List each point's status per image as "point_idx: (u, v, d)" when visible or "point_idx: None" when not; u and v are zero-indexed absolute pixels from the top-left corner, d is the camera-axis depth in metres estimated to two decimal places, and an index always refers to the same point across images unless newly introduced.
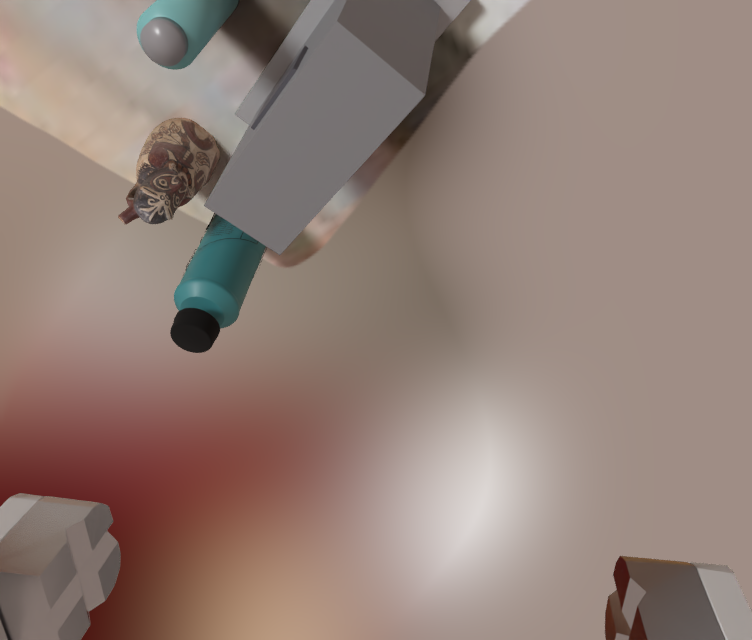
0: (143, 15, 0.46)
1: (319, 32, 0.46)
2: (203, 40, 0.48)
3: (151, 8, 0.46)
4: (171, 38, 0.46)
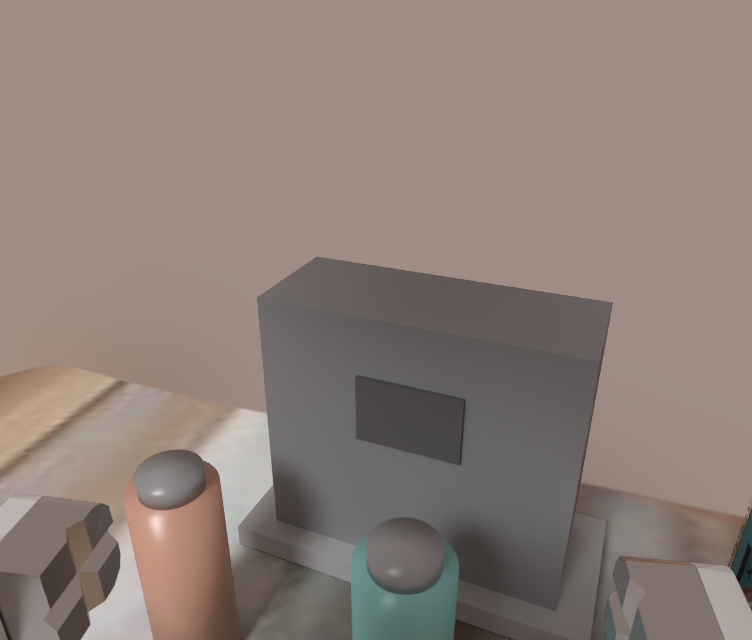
0: (375, 597, 0.25)
1: (333, 427, 0.37)
2: None
3: (359, 587, 0.25)
4: (388, 533, 0.27)
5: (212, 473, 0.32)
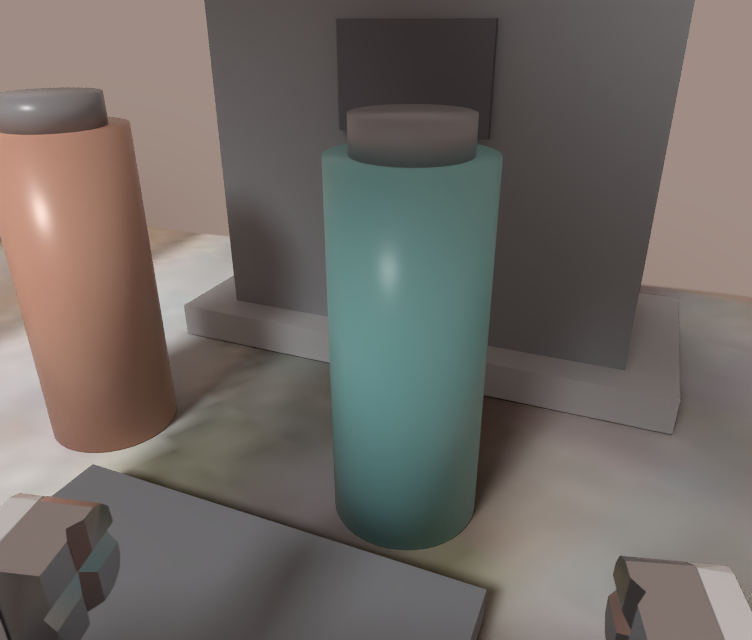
0: (362, 169, 0.14)
1: (308, 123, 0.26)
2: None
3: (334, 167, 0.15)
4: (385, 108, 0.16)
5: (120, 121, 0.21)
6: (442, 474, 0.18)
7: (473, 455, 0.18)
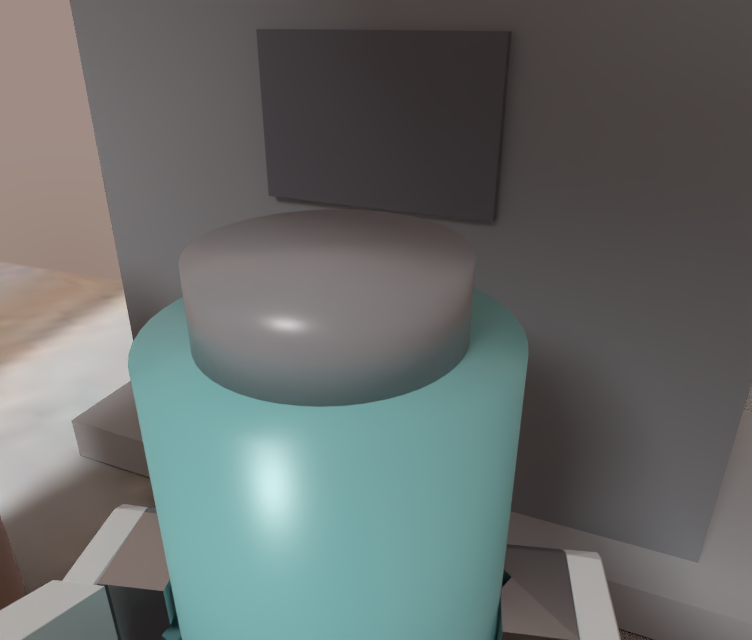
0: (188, 415, 0.06)
1: (225, 182, 0.18)
2: None
3: (139, 390, 0.06)
4: (277, 230, 0.08)
5: None
6: None
7: None
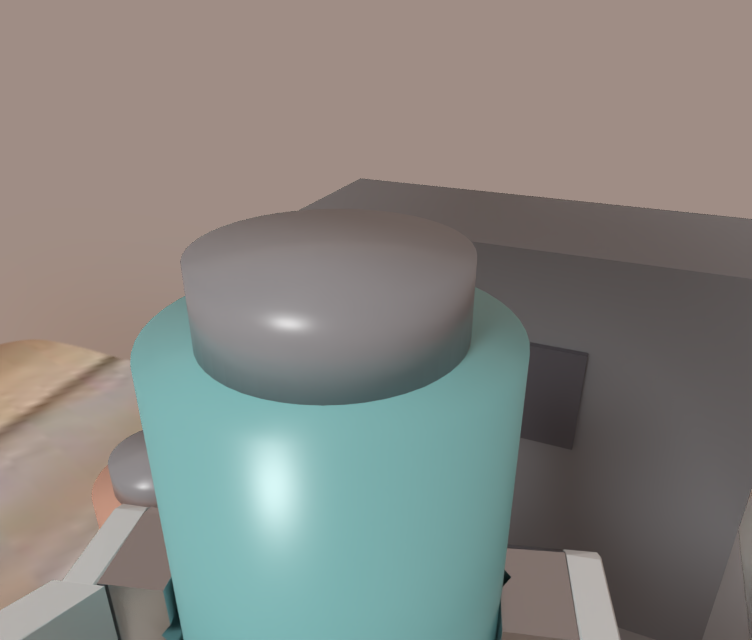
0: (191, 414, 0.06)
1: None
2: None
3: (141, 389, 0.06)
4: (279, 229, 0.08)
5: None
6: None
7: None
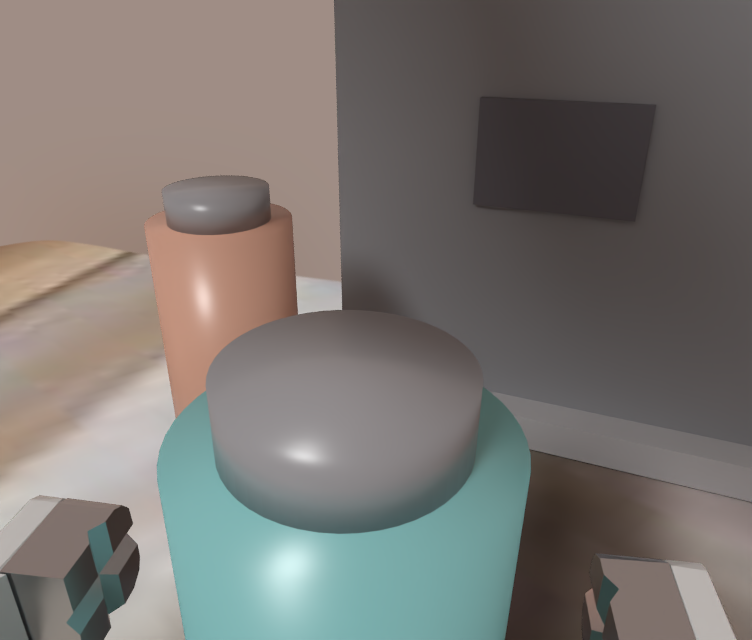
0: (217, 542, 0.06)
1: (438, 195, 0.26)
2: None
3: (169, 508, 0.07)
4: (296, 341, 0.08)
5: (278, 210, 0.21)
6: None
7: None
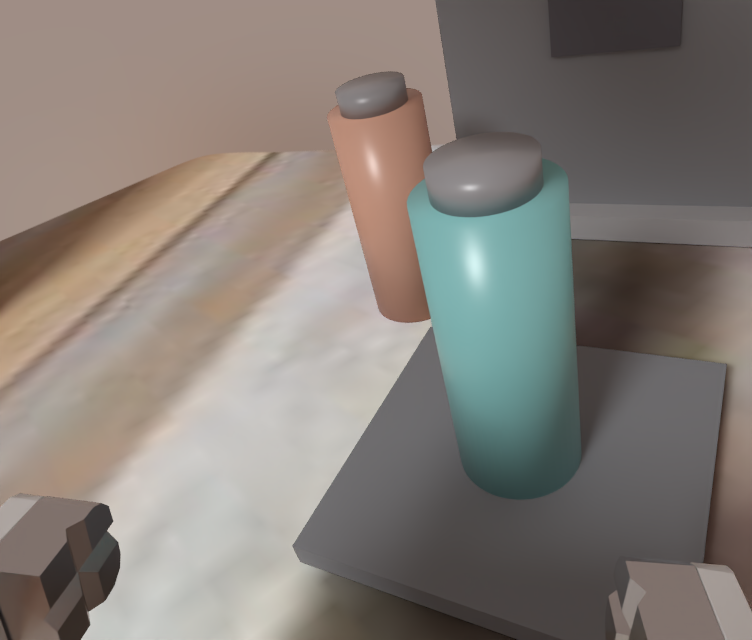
0: (443, 225, 0.17)
1: (523, 55, 0.33)
2: None
3: (419, 222, 0.17)
4: (456, 150, 0.18)
5: (411, 91, 0.30)
6: (547, 442, 0.21)
7: (574, 420, 0.21)
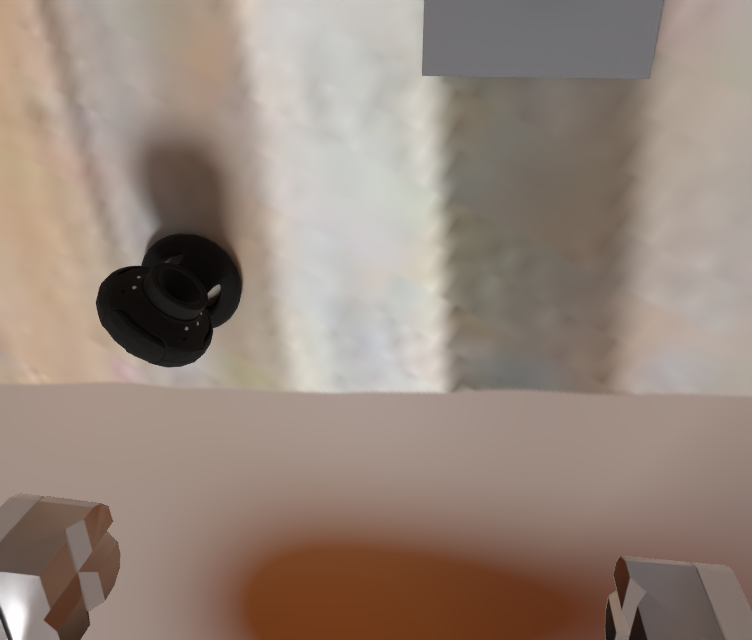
0: None
1: None
2: None
3: None
4: None
5: None
6: None
7: None
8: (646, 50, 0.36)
